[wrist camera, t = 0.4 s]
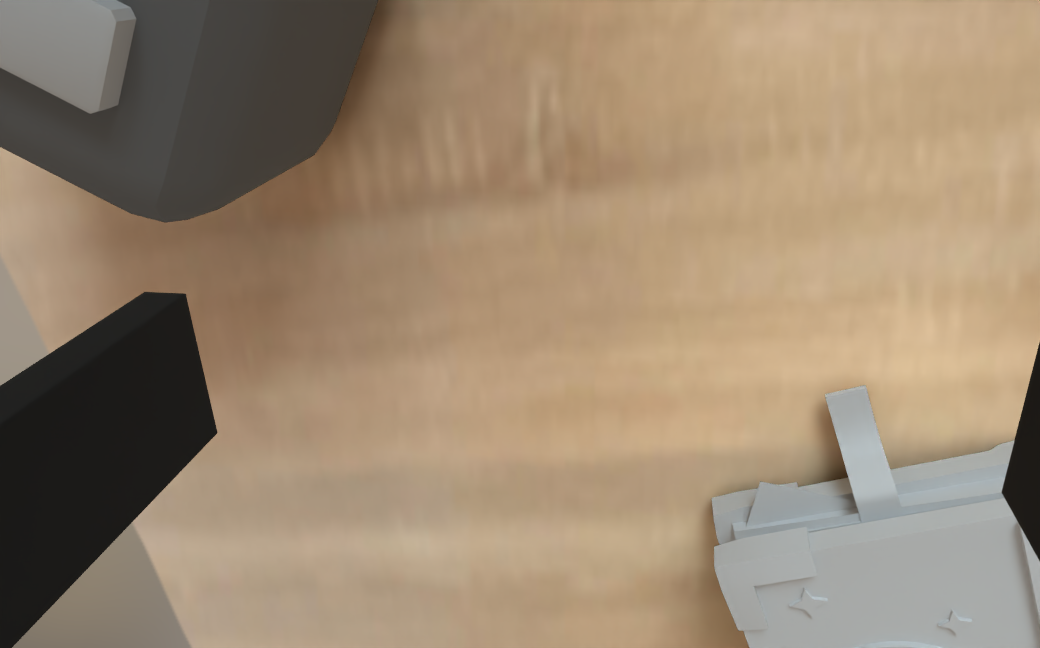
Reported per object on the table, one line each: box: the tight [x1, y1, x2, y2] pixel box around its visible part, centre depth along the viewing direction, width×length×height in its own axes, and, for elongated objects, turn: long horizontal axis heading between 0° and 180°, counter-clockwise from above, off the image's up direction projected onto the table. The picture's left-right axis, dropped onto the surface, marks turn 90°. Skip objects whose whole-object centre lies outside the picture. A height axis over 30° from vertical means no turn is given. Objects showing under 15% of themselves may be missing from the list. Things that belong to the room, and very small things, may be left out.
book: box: [712, 385, 1040, 648], centre depth 42 cm, size 19×28×8 cm
